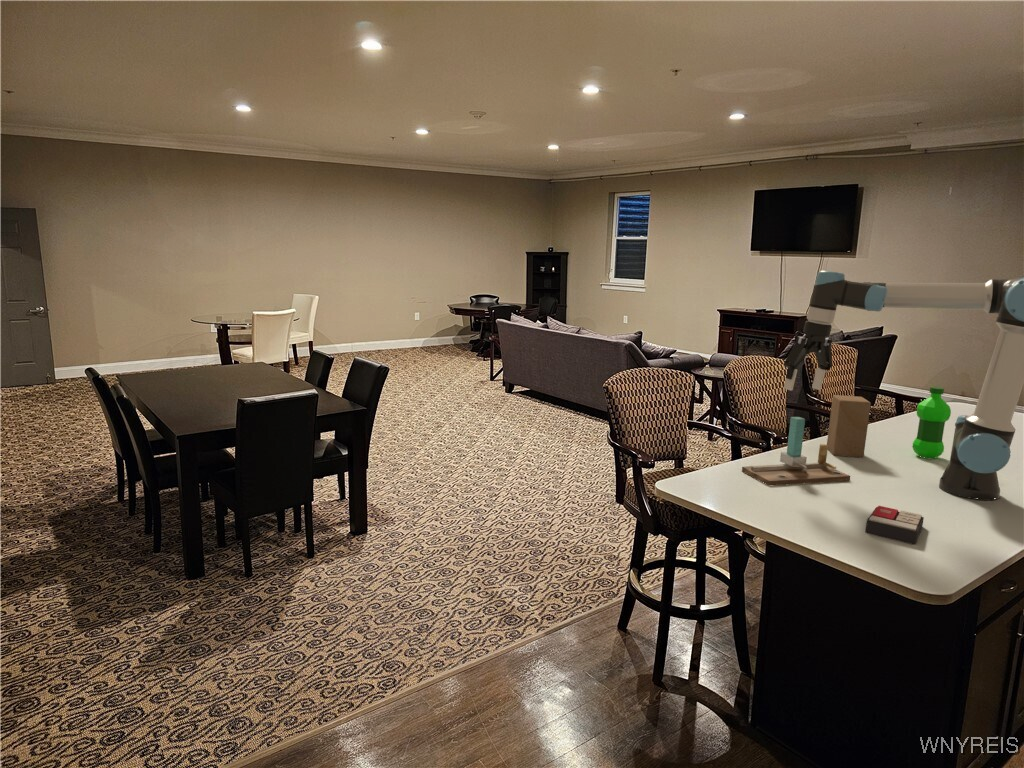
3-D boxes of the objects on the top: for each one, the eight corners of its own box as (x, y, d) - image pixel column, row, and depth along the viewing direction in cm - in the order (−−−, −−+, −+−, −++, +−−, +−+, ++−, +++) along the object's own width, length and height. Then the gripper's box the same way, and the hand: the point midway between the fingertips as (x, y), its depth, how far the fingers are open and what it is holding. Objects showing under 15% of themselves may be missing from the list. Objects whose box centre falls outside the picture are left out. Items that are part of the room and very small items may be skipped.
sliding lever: (812, 472, 207) (818, 422, 204) (798, 473, 206) (804, 423, 203) (792, 463, 216) (798, 415, 213) (779, 464, 215) (785, 416, 212)
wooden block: (863, 458, 232) (871, 402, 229) (833, 455, 234) (840, 400, 231) (855, 450, 242) (862, 396, 238) (825, 448, 244) (832, 394, 240)
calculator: (924, 514, 171) (918, 528, 159) (922, 530, 172) (915, 545, 160) (876, 503, 178) (867, 517, 166) (874, 519, 178) (864, 533, 166)
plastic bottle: (950, 459, 234) (961, 390, 229) (929, 462, 230) (940, 391, 225) (923, 451, 243) (934, 384, 238) (903, 454, 239) (913, 385, 234)
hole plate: (849, 480, 207) (853, 453, 205) (769, 485, 200) (772, 457, 198) (818, 466, 220) (821, 441, 219) (741, 471, 213) (744, 445, 211)
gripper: (833, 321, 211) (817, 385, 217) (781, 317, 199) (765, 386, 204) (855, 326, 205) (837, 392, 210) (802, 322, 193) (785, 393, 198)
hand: (802, 389), depth 207 cm, fingers open, 13 cm apart
